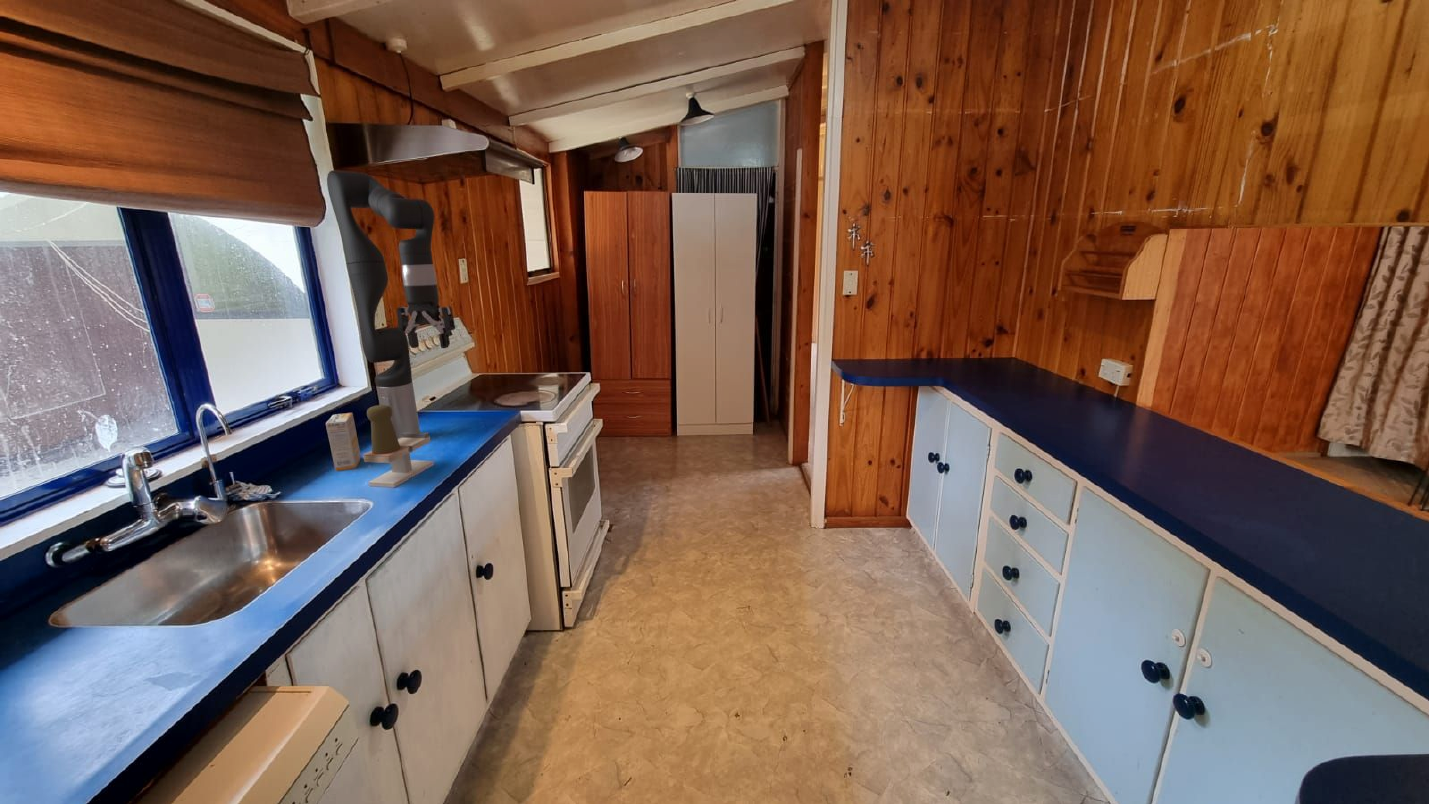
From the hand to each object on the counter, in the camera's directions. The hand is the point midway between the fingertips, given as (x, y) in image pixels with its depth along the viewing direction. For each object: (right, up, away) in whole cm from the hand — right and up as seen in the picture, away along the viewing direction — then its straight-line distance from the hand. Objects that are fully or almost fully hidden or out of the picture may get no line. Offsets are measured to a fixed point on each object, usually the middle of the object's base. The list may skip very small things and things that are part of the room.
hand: (429, 347), depth 146 cm
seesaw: (-5, -25, -5) cm, 26 cm away
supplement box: (-24, -31, +4) cm, 39 cm away
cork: (-6, -26, -9) cm, 28 cm away
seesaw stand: (-5, -32, -3) cm, 33 cm away
